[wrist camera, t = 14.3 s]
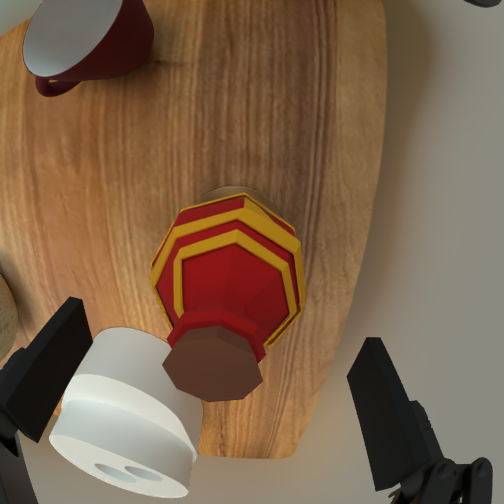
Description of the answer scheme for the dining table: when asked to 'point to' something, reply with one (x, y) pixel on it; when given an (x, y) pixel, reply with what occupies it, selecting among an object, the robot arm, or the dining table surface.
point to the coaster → (234, 190)
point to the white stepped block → (129, 417)
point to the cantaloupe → (7, 319)
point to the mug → (85, 42)
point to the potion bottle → (226, 294)
